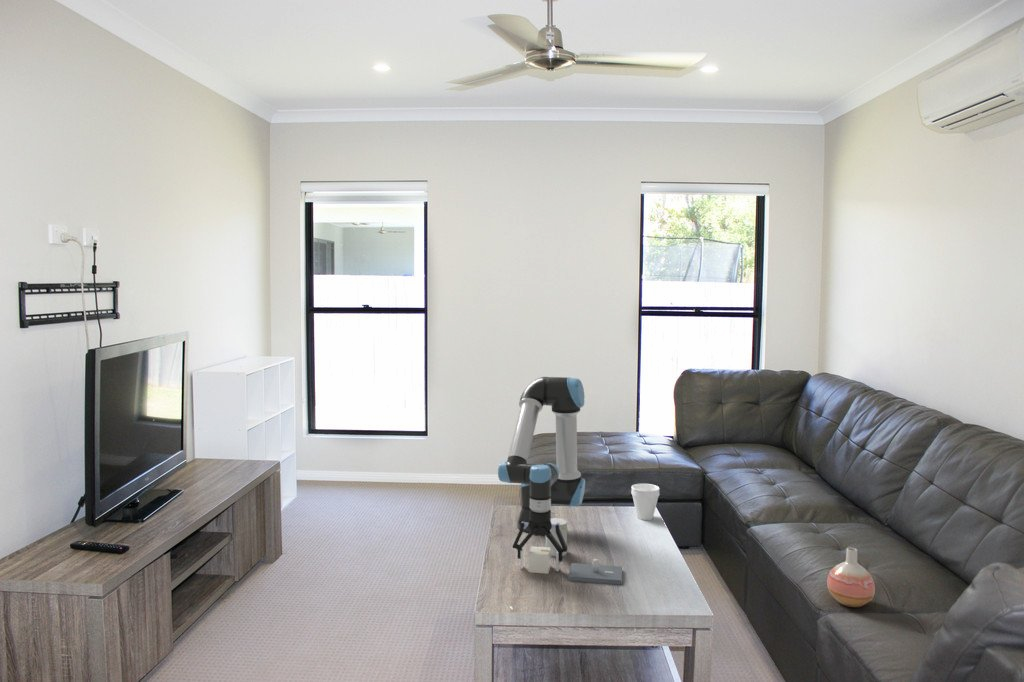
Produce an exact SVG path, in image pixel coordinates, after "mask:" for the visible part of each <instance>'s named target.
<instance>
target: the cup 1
mask: <svg viewBox="0 0 1024 682" xmlns="http://www.w3.org/2000/svg"><path fill="white" fill-rule="evenodd" d="M557 523H559V525H560V531H561V533H562V536H563V538H564V540H565V543H566V545H567V546H568V521H567V519H565V518H560V517H559V518H558V517H552V518H551V524H557ZM550 532H551V533H552V535H553V536H554V538H555V539H556V541H557V542H558V543H559V545H560V546H561V543H560V541H559V539H558V536H557V534H556V531H555V530H554V529H553V528H551V529H550ZM545 547H549V548H551V557H556V553H557V550H556V548H555V547H554V545H553V544H552V543H551V541H550V540H549V539H548V538H547V537H546V536H545ZM561 547H562V546H561ZM567 553H568V550H567V551H566V552H562V557H563V556H566V555H567Z"/></svg>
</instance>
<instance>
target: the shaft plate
mask: <svg viewBox="0 0 1024 682" xmlns="http://www.w3.org/2000/svg"><path fill="white" fill-rule="evenodd" d="M567 577H568V578H567V579H568V581H569V582H582V583H585V582H586V583H597V584H610V585H622V583H623V581H622V580H623V578H622V577H623V566H620V565H607V564H600V559H598V558H593V559H592V563H578V562H575V563H574V562H571V564H570V568H569V573H568V576H567Z"/></svg>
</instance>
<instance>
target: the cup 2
mask: <svg viewBox="0 0 1024 682" xmlns="http://www.w3.org/2000/svg"><path fill="white" fill-rule="evenodd" d="M630 494H631V495H632V499H633V500H632V501H633V504H634V509H635V510H634V511H635V514H636V517H637V519H638V518H639V519H638V520H641V519H642V521H651V520H653V519H654V517H655V516H654V514H655V512H656V507H657V503H658V499H659V496H660V487H659V486H658V485H655V484H651V483H635V484H632V485H631V493H630Z"/></svg>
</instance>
